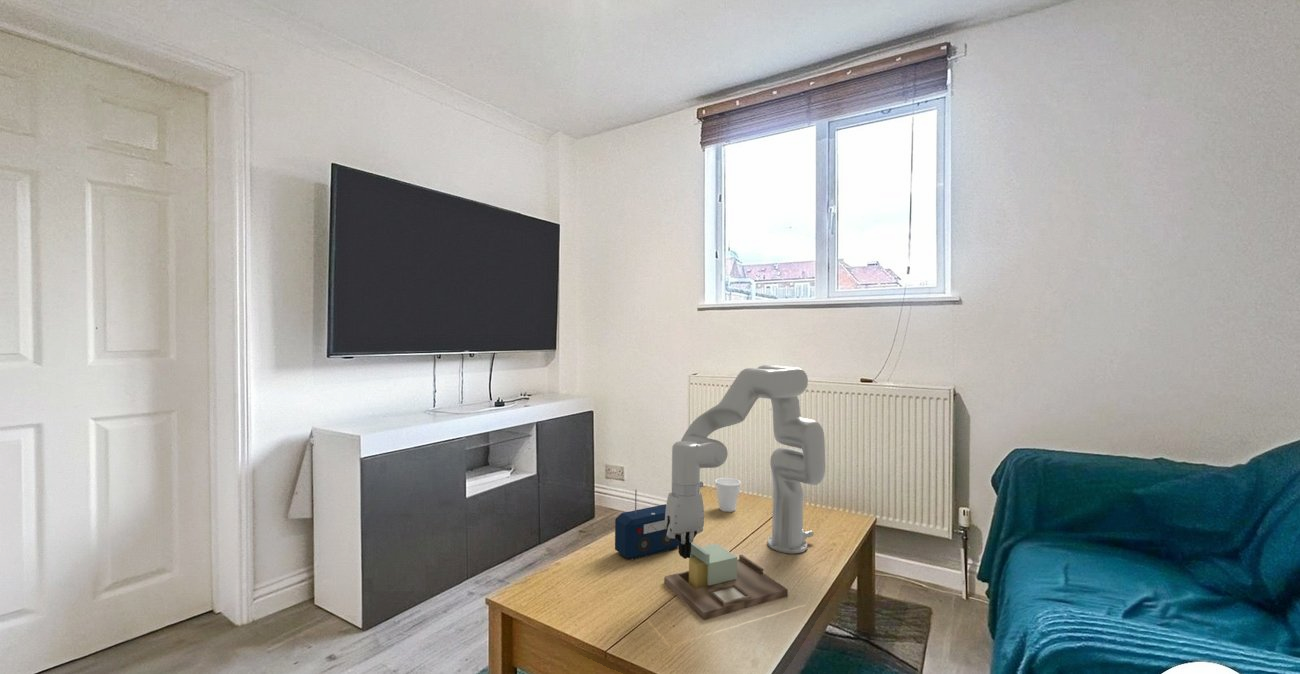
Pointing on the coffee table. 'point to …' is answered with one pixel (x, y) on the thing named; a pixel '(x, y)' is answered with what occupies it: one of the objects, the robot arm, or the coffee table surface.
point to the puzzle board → (728, 591)
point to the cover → (716, 562)
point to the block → (698, 573)
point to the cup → (727, 493)
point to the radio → (642, 532)
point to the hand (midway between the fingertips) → (684, 556)
